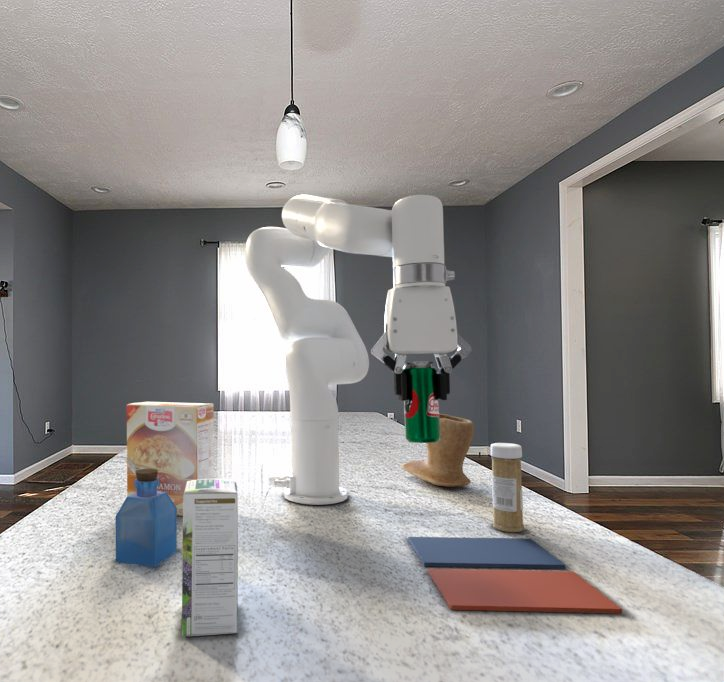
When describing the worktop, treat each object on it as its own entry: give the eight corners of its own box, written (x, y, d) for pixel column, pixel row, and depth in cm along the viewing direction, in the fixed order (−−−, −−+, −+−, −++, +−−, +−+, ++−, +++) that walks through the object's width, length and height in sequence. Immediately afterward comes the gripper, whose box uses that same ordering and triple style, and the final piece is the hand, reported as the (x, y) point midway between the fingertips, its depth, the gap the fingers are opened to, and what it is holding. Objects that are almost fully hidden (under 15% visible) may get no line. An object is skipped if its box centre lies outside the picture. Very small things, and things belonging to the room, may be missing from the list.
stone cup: (486, 489, 109) (485, 416, 110) (433, 492, 107) (432, 418, 108) (448, 473, 124) (447, 409, 125) (400, 475, 122) (399, 410, 123)
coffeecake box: (125, 510, 97) (125, 404, 98) (147, 500, 104) (146, 400, 104) (197, 518, 92) (196, 406, 92) (215, 507, 98) (214, 402, 99)
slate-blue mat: (424, 566, 70) (424, 562, 70) (408, 540, 80) (408, 536, 80) (565, 568, 69) (565, 564, 69) (531, 541, 79) (530, 538, 79)
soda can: (436, 443, 76) (431, 360, 78) (401, 442, 78) (397, 362, 80) (444, 441, 80) (439, 363, 82) (410, 441, 83) (407, 365, 84)
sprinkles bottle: (529, 529, 84) (527, 444, 84) (513, 535, 82) (511, 447, 82) (502, 522, 88) (500, 441, 88) (486, 527, 85) (484, 443, 86)
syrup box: (184, 610, 59) (183, 479, 59) (237, 607, 59) (236, 477, 59) (181, 638, 53) (180, 492, 53) (240, 634, 53) (238, 490, 54)
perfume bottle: (176, 550, 77) (176, 467, 77) (155, 567, 71) (154, 477, 71) (139, 546, 79) (139, 465, 79) (115, 561, 73) (115, 474, 73)
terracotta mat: (451, 609, 58) (451, 605, 58) (428, 572, 68) (428, 568, 68) (622, 613, 57) (622, 609, 57) (573, 575, 67) (573, 571, 67)
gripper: (468, 281, 83) (471, 397, 83) (358, 284, 84) (361, 398, 84) (485, 274, 76) (489, 401, 75) (365, 277, 77) (368, 402, 76)
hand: (421, 398), depth 80 cm, fingers closed on soda can, 5 cm apart
